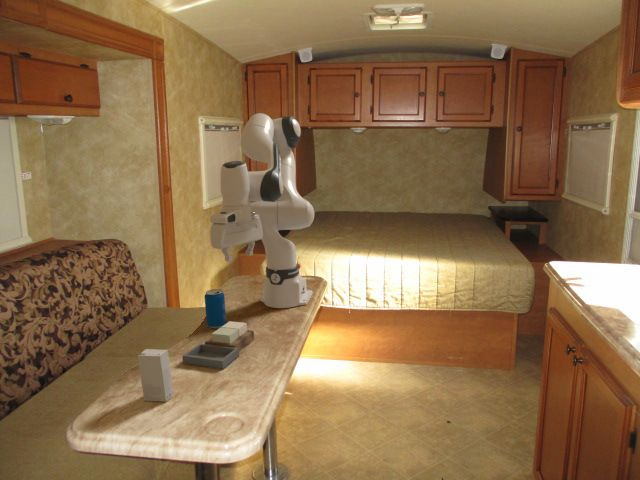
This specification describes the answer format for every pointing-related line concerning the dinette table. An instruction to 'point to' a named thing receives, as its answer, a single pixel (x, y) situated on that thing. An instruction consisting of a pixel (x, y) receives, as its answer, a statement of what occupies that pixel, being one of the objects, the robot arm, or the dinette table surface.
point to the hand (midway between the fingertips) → (239, 258)
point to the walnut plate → (236, 341)
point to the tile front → (225, 335)
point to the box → (211, 356)
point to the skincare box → (155, 375)
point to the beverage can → (215, 308)
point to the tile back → (236, 327)
